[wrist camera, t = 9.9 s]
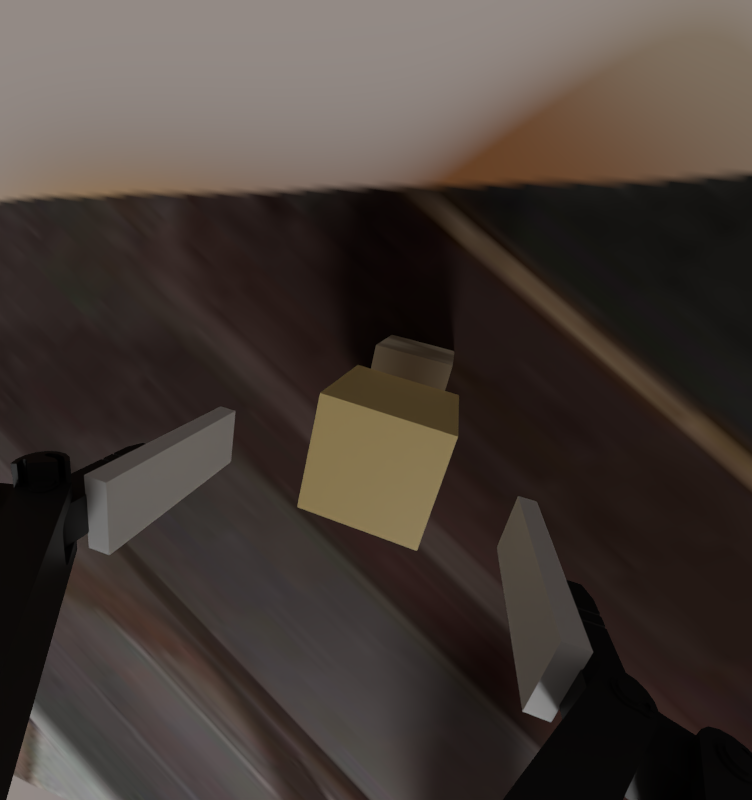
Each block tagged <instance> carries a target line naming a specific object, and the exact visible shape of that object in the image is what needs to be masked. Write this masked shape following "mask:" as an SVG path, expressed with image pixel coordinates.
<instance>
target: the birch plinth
mask: <svg viewBox="0 0 752 800" xmlns="http://www.w3.org/2000/svg"><path fill="white" fill-rule="evenodd" d="M453 358H454V351H452V350H448V349H444V348H440V347H437V346H433V345H429V344H425V343H421V342H418V341H414V340H410V339H406V338H402V337H399V336H395V335H391V336H389V337H388V338H386V339H384V340H383V341H381V342H380V343H378V344H377V345H376V348H375V352H374V357H373V361H372V366H371V369H373V370H377V371H380V372H383V373H387V374H390V375H393V376H397V377H400V378H403V379H407V380H410V381H413V382H417V383H420V384H423V385H426V386H430V387H433V388H436V389H440V390H443V391H445V389H446V385H447V382H448V379H449V375H450V372H451V369H452V366H453Z"/></svg>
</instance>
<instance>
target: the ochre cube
mask: <svg viewBox="0 0 752 800" xmlns="http://www.w3.org/2000/svg"><path fill="white" fill-rule="evenodd" d="M458 413H459V395H456V394H453V393H450V392H446V391H443V390H440V389H436V388H433V387H430V386H426V385H423V384H420V383H417V382H413V381H410V380H407V379H403V378H400V377H397V376H393V375H390V374H387V373H383V372H380V371H377V370H373V369H370V368H367V367H363V366H360V365H357V366H356V367H354V368H353V369H352V370H350V371H349V372H348V373H346V374H345V375H344V376H342V377H341V378H340V379H338V380H337V381H336V382H334V383H333V384H332V385H330V386H329V387H328V388H326V389H325V390H324V391H322V392H321V393H320V397H319V402H318V407H317V412H316V417H315V421H314V426H313V431H312V436H311V441H310V446H309V451H308V456H307V461H306V466H305V471H304V476H303V481H302V486H301V491H300V496H299V501H298V506H297V507H299V508H301V509H304V510H307V511H309V512H312V513H315V514H318V515H320V516H323V517H326V518H329V519H331V520H334V521H337V522H339V523H342V524H345V525H348V526H350V527H353V528H356V529H359V530H361V531H364V532H367V533H370V534H372V535H375V536H378V537H380V538H383V539H386V540H389V541H391V542H394V543H397V544H400V545H402V546H405V547H408V548H410V549H413V550H416V551H417V549H418V546H419V544H420V541H421V538H422V535H423V532H424V530H425V527H426V524H427V521H428V518H429V516H430V513H431V510H432V507H433V505H434V502H435V499H436V496H437V493H438V491H439V488H440V485H441V482H442V480H443V477H444V474H445V471H446V468H447V466H448V463H449V460H450V457H451V455H452V452H453V449H454V446H455V443H456V441H457V438H458Z"/></svg>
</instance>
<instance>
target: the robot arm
mask: <svg viewBox="0 0 752 800" xmlns="http://www.w3.org/2000/svg"><path fill="white" fill-rule="evenodd" d="M234 421H235V411H234V410H231V409H227V408H224V407H219V408H217V409H215V410H213V411H211V412H209V413H207V414H205V415H203V416H201V417H199V418H197V419H195V420H193V421H191V422H189V423H187V424H185V425H183V426H181V427H179V428H177V429H175V430H173V431H171V432H169V433H167V434H165V435H163V436H161V437H159V438H157V439H155V440H153V441H151V442H149V443H147V444H145V443H140V444H136V445H132V446H128V447H126V448H124V449H122V450H120V451H117V452H115V453H114V455H113V454H111V455H109V456H107V457H105V458H104V459H103V460H102V459H101V460H99V461H97V462H95V463H92V464H90V465H88V466H86V467H84V468H82V469H80V470H78V471H76V472H74V473H72V474H71V468H70V457H69V456H68V455H67V454H65V453H61V452H57V451H44V452H35V453H32V454H28V455H24V456H22V457H20V458H18V459H16V460H15V461H13V462H12V463H11V470H12V477H13V484H6V483H0V800H6V799H7V795H8V792H9V788H10V785H11V781H12V777H13V774H14V770H15V767H16V763H17V760H18V756H19V753H20V749H21V746H22V742H23V739H24V735H25V731H26V728H27V724H28V721H29V717H30V714H31V710H32V707H33V703H34V700H35V696H36V693H37V689H38V686H39V682H40V678H41V675H42V671H43V668H44V664H45V661H46V657H47V654H48V650H49V647H50V643H51V640H52V636H53V633H54V629H55V625H56V622H57V618H58V615H59V611H60V608H61V604H62V601H63V597H64V594H65V590H66V587H67V583H68V580H69V576H70V572H71V569H72V565H73V562H74V558H75V555H76V551H77V541H76V540H78V539H80V538H81V537H83V536H84V535H86V534H87V533H88V541H89V548H91V549H94V550H97V551H99V552H102V553H105V554H107V555H110V554H112V553H113V552H114V551H116V550H117V549H118V548H119V547H121V546H122V545H123V544H125V543H126V542H127V541H129V540H130V539H131V538H132V537H134V536H135V535H136V534H138V533H139V532H140V531H142V530H143V529H144V528H145V527H147V526H148V525H149V524H151V523H152V522H153V521H155V520H156V519H157V518H158V517H160V516H161V515H162V514H164V513H165V512H166V511H168V510H169V509H170V508H171V507H173V506H174V505H175V504H177V503H178V502H179V501H181V500H182V499H183V498H184V497H186V496H187V495H188V494H190V493H191V492H192V491H194V490H195V489H196V488H197V487H199V486H200V485H201V484H203V483H204V482H205V481H207V480H208V479H209V478H210V477H212V476H213V475H214V474H216V473H217V472H218V471H220V470H221V469H222V468H223V467H225V466H226V465H227V464H229V463H230V462H231V454H232V443H233V432H234ZM497 551H498V558H499V564H500V571H501V577H502V584H503V590H504V596H505V603H506V609H507V616H508V622H509V628H510V635H511V641H512V648H513V654H514V661H515V667H516V673H517V680H518V686H519V693H520V699H521V705H522V712H525V713H528V714H530V715H533V716H536V717H538V718H541V719H544V720H546V721H549V722H552V720H553V718H554V717H555V715H556V713H557V712H558V710H559V708H560V711H561V715H562V719H563V720H562V721H561V722H560V724H559V725H558V726H557V728H556V729H555V730H554V732H553V733H552V734H551V736H550V737H549V738H548V740H547V741H546V742H545V744H544V745H543V746H542V748H541V749H540V751H539V752H538V753H537V755H536V756H535V757H534V759H533V760H532V761H531V763H530V764H529V765H528V767H527V768H526V769H525V771H524V772H523V773H522V775H521V776H520V777H519V779H518V780H517V781H516V783H515V784H514V786H513V787H512V788H511V790H510V791H509V792H508V794H507V795H506V796H505V798H504V799H503V800H623V798H624V796H625V797H626V798H628V799H629V800H752V753H751V752H750V751H749V749H748V748H746V747H745V746H744V745H743V744H741V743H740V742H739V741H737V740H736V739H735V738H734V737H732V736H731V735H729V734H727V733H725V732H723V731H721V730H720V729H716V728H712V727H705V728H703V729H701V730H700V731H699V732H698V734H697V735H694V734H693V733H691V732H689V731H688V730H686V729H685V728H683V727H681V726H680V725H678V724H677V723H675V722H673V721H672V720H670V719H669V718H667V717H666V716H664V715H663V714H661V713H660V712H658V709H657V707H656V704H655V702H654V700H653V699H652V698H651V696H650V695H649V693H648V692H647V690H646V689H645V688H644V687H643V686H642V685H641V684H640V683H639V682H638V681H637V680H635V679H634V678H633V677H631V676H630V675H628V674H627V673H626V672H625V670H624V668H623V666H622V663H621V661H620V659H619V656H618V654H617V652H616V650H615V647H614V645H613V643H612V641H611V638H610V636H609V634H608V631H607V629H605V625H604V622H603V620H602V618H601V617H600V613H599V611H598V609H597V606H596V604H595V602H594V600H593V598H592V597H591V596H590V595H589V593H588V592H587V591H586V590H585V588H584V587H583V586H582V585H581V584H578V583H575V582H572V581H568V580H566V578H565V576H564V573H563V570H562V568H561V565H560V562H559V560H558V557H557V554H556V552H555V549H554V546H553V544H552V541H551V538H550V536H549V533H548V530H547V528H546V525H545V522H544V520H543V517H542V514H541V512H540V509H539V506H538V504H537V502H536V501H533V500H530V499H526V498H523V497H520V496H518V498H517V500H516V503H515V505H514V507H513V510H512V512H511V515H510V517H509V519H508V522H507V524H506V527H505V529H504V532H503V534H502V536H501V539H500V541H499V544H498V546H497Z"/></svg>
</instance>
